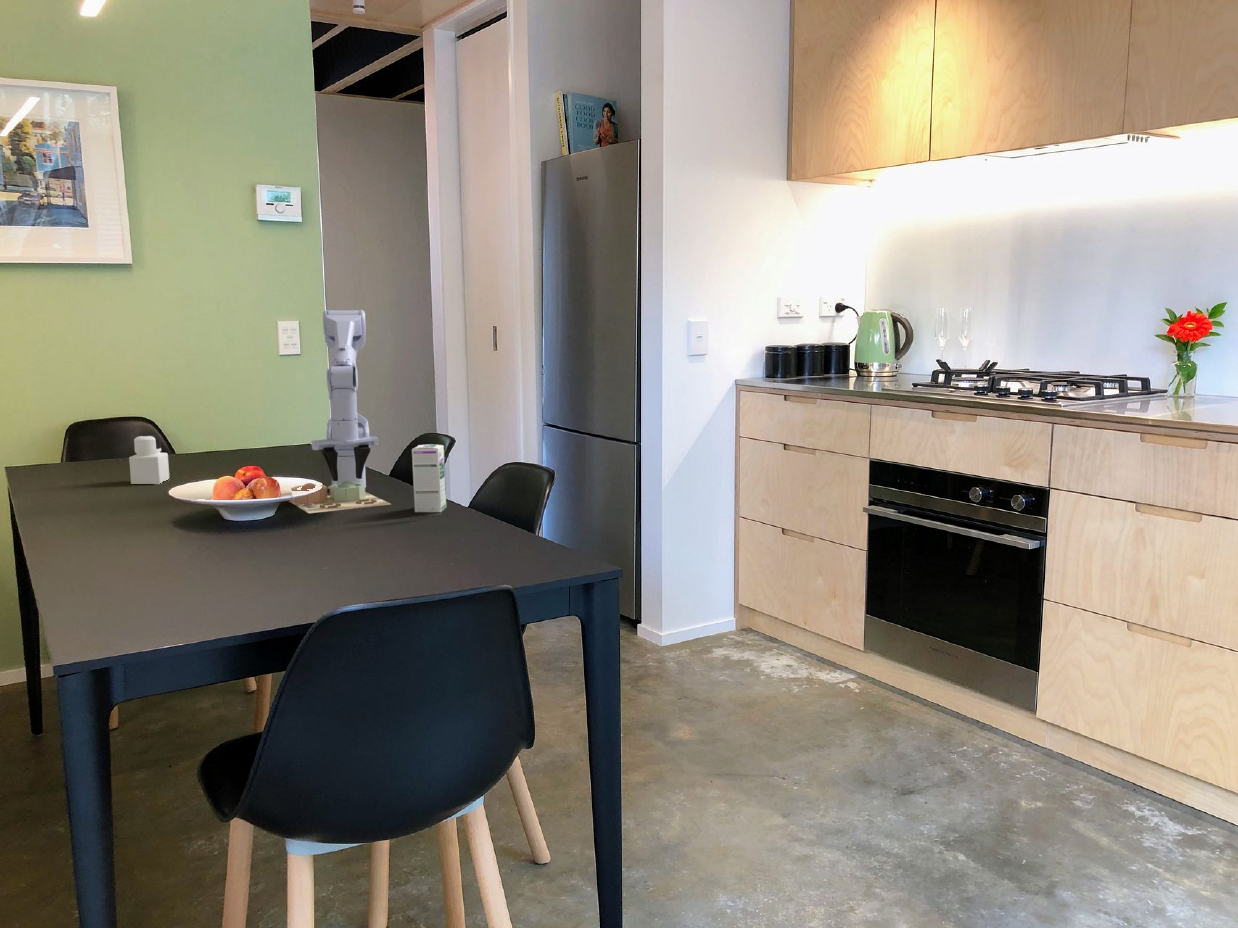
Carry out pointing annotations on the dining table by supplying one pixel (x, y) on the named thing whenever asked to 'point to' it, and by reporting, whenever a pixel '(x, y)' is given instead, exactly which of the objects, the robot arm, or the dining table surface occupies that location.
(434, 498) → the syrup box
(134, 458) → the medicine bottle
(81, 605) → the dining table surface
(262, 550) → the dining table surface
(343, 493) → the green octagonal ring
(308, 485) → the terracotta ball
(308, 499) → the terracotta tube
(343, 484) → the sage ball
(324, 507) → the board
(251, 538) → the dining table surface
